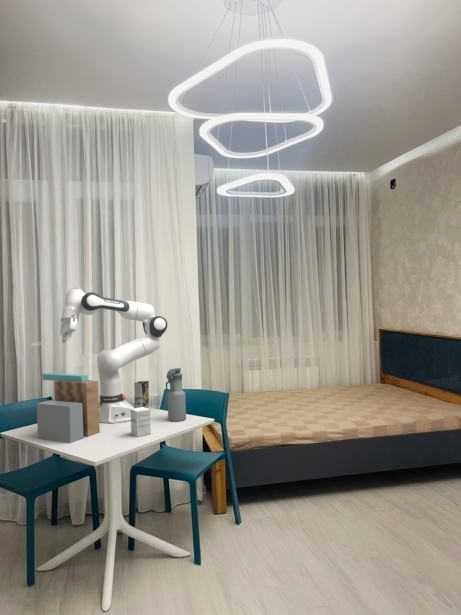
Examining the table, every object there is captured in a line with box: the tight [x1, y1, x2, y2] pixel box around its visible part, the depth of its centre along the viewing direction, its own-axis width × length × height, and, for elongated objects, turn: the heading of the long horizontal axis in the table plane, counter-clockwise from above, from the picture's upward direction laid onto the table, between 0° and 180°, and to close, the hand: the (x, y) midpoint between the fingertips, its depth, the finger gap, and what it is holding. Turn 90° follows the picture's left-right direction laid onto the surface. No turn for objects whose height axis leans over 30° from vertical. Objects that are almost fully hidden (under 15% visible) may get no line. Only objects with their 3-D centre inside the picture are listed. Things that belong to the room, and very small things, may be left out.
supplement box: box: [130, 407, 152, 438], centre depth 224 cm, size 7×7×13 cm
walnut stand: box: [53, 379, 101, 438], centre depth 232 cm, size 22×8×26 cm, turn 63°
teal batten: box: [41, 372, 89, 382], centre depth 236 cm, size 28×4×3 cm, turn 63°
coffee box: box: [133, 380, 150, 408], centre depth 287 cm, size 9×6×16 cm
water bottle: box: [165, 367, 187, 423], centre depth 252 cm, size 10×10×28 cm
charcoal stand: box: [36, 400, 84, 444], centre depth 222 cm, size 22×8×17 cm, turn 63°
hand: (66, 341), depth 249 cm, fingers open, 8 cm apart
